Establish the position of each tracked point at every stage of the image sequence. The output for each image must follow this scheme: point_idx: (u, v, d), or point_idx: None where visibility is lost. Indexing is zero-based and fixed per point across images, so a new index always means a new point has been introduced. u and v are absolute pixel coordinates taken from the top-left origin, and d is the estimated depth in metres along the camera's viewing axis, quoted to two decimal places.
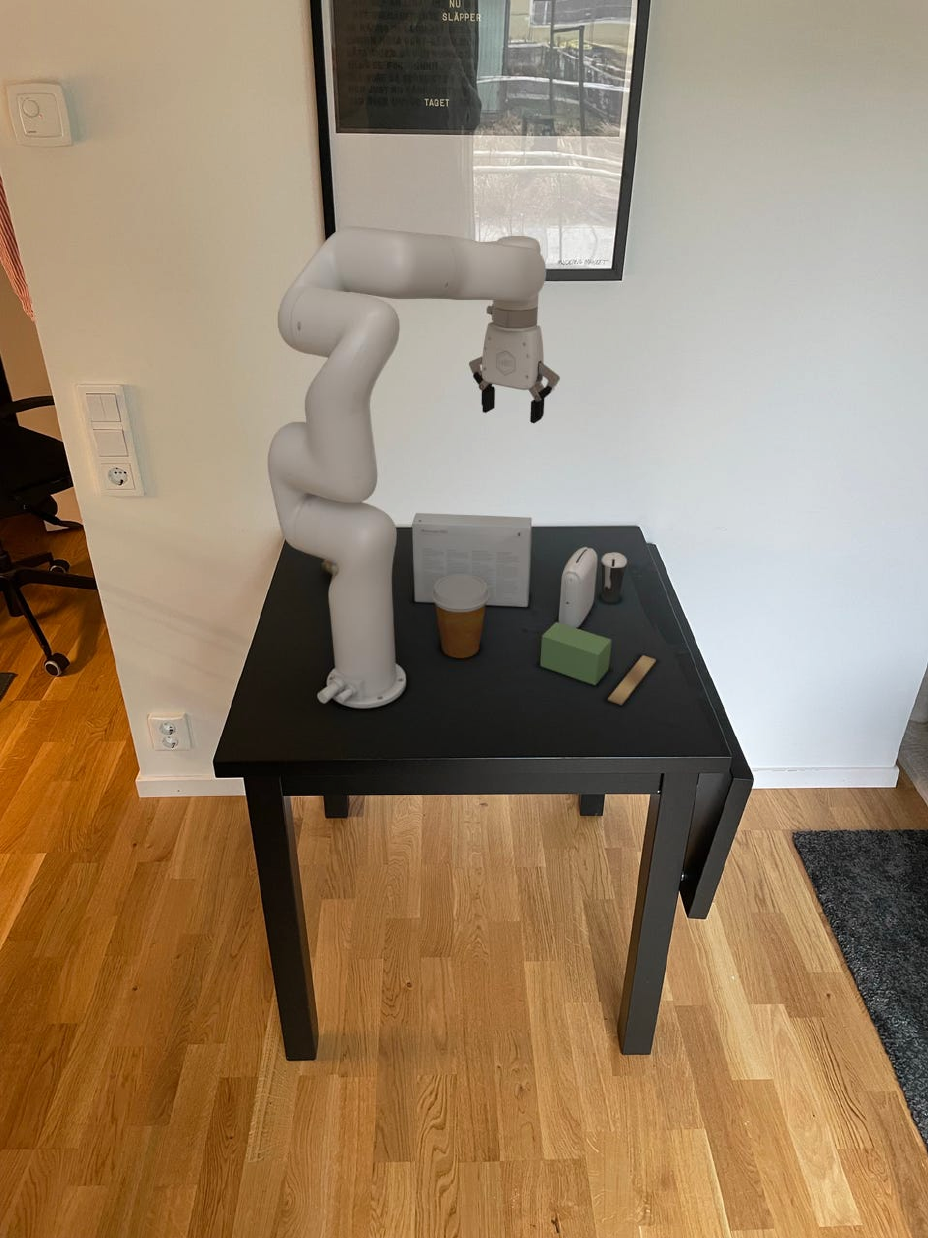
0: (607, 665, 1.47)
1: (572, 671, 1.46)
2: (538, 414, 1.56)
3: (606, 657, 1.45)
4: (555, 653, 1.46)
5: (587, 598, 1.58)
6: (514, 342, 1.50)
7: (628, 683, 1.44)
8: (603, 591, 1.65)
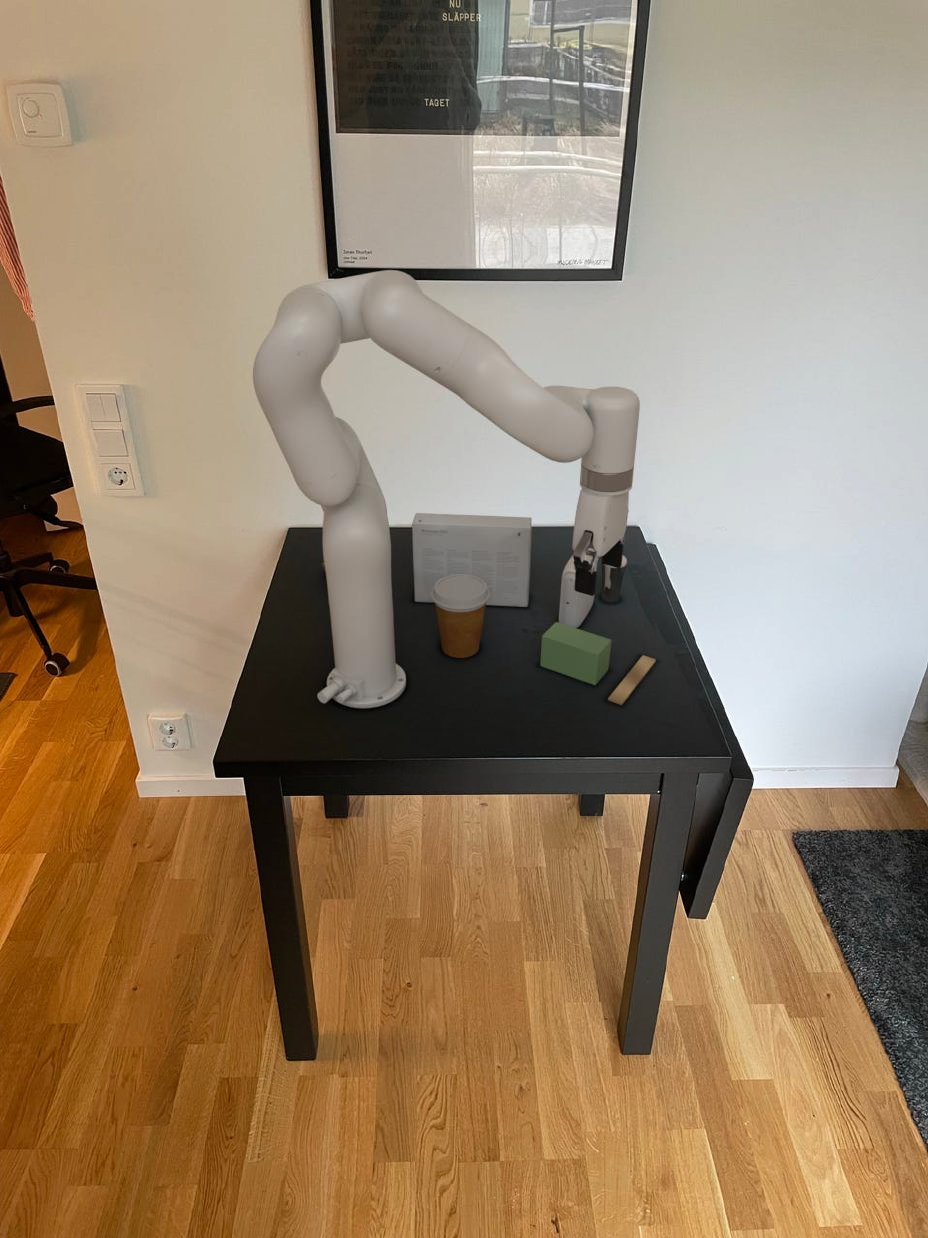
0: (607, 665, 1.47)
1: (572, 671, 1.46)
2: (578, 584, 1.34)
3: (606, 657, 1.45)
4: (555, 653, 1.46)
5: (587, 598, 1.58)
6: None
7: (628, 683, 1.44)
8: (603, 591, 1.65)
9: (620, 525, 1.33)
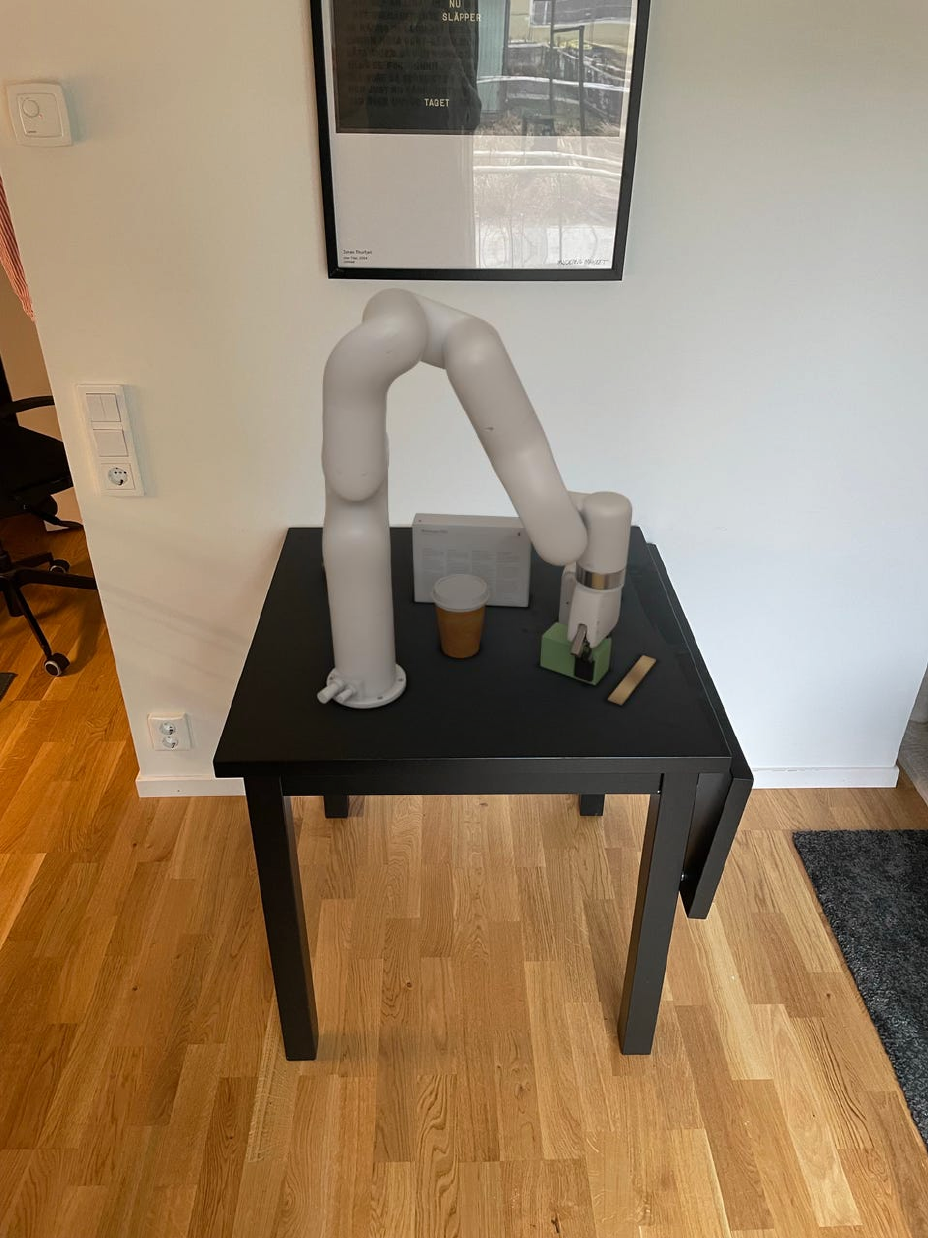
0: (607, 665, 1.47)
1: (572, 671, 1.46)
2: (577, 671, 1.44)
3: (606, 657, 1.45)
4: (555, 653, 1.46)
5: None
6: None
7: (628, 683, 1.44)
8: None
9: (613, 617, 1.41)
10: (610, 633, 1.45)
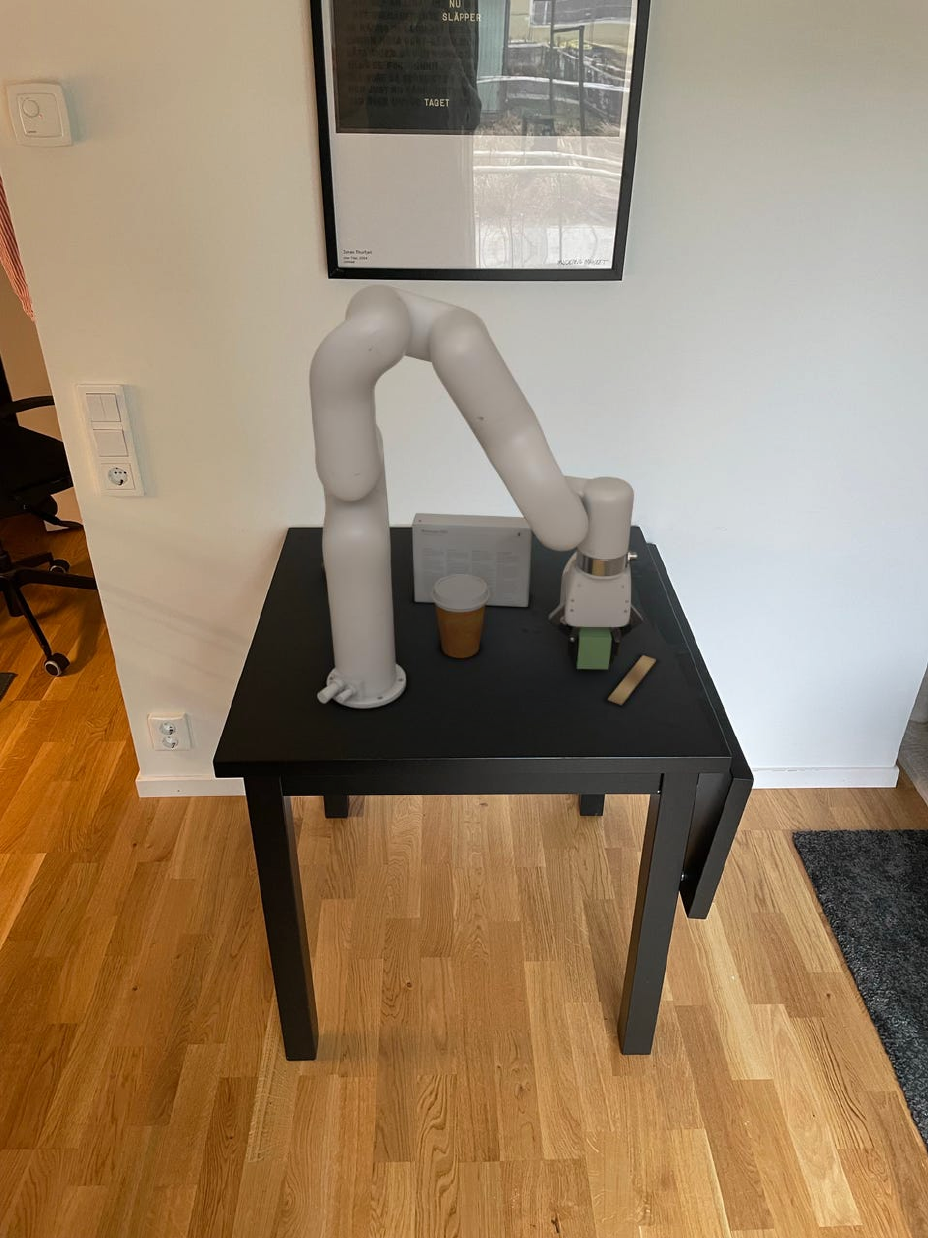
0: (605, 662, 1.43)
1: None
2: (569, 646, 1.45)
3: (601, 652, 1.42)
4: None
5: None
6: None
7: (628, 683, 1.44)
8: None
9: (605, 611, 1.38)
10: (617, 633, 1.41)
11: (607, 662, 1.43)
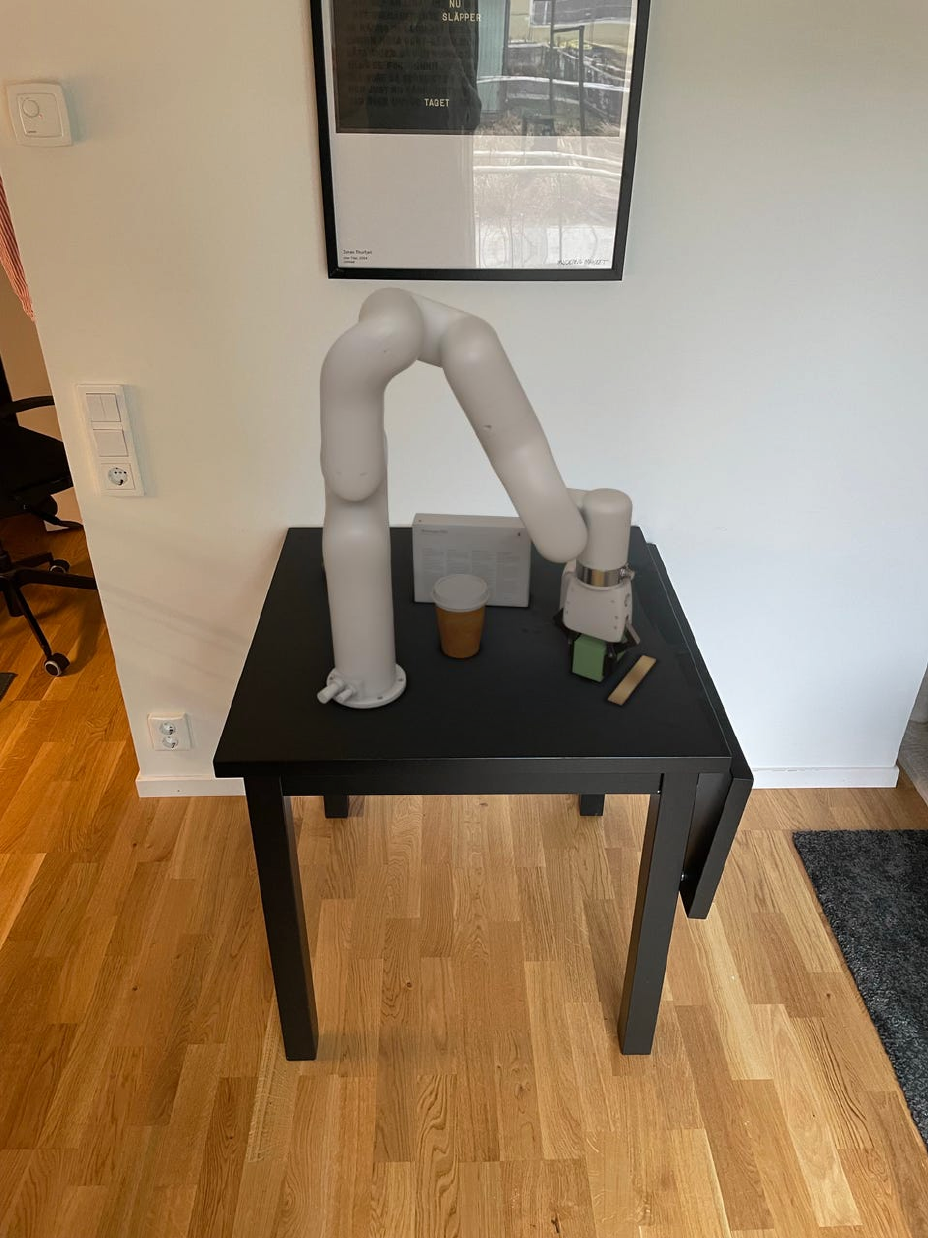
0: (597, 674, 1.44)
1: None
2: None
3: (593, 662, 1.43)
4: None
5: None
6: None
7: (628, 683, 1.44)
8: None
9: (596, 622, 1.39)
10: (610, 648, 1.41)
11: (599, 674, 1.44)
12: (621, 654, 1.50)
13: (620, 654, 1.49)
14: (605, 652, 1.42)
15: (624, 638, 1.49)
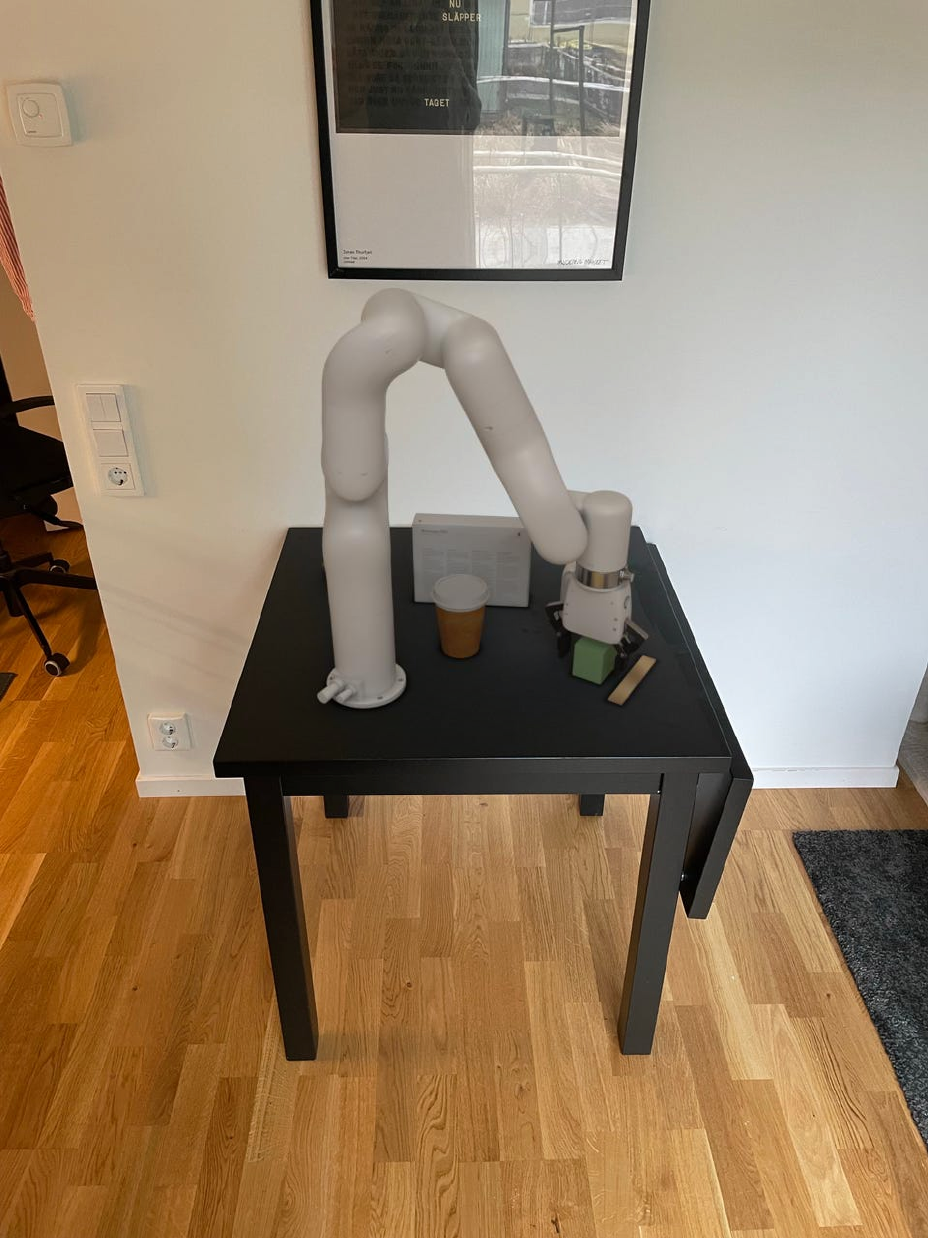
0: (597, 676, 1.44)
1: None
2: None
3: (593, 664, 1.43)
4: None
5: None
6: None
7: (628, 683, 1.44)
8: None
9: (596, 624, 1.39)
10: (621, 648, 1.40)
11: (599, 677, 1.44)
12: None
13: None
14: (605, 655, 1.42)
15: None
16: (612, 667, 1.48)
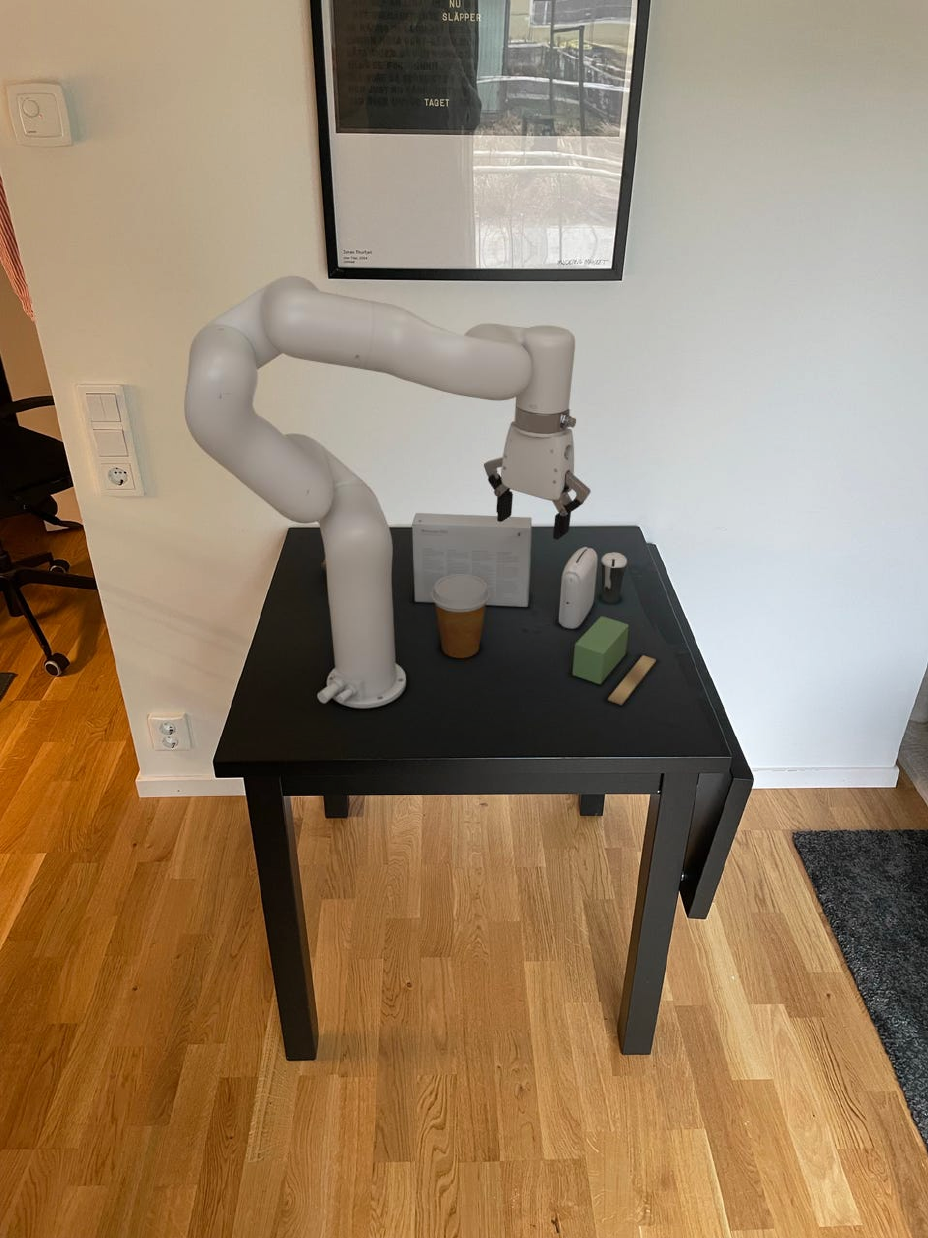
0: (597, 676, 1.44)
1: None
2: None
3: (593, 664, 1.43)
4: None
5: (587, 598, 1.58)
6: None
7: (628, 683, 1.44)
8: (603, 591, 1.65)
9: (535, 477, 1.29)
10: (562, 505, 1.30)
11: (599, 677, 1.44)
12: (621, 657, 1.50)
13: (620, 657, 1.50)
14: (605, 655, 1.42)
15: (624, 641, 1.49)
16: (612, 667, 1.48)
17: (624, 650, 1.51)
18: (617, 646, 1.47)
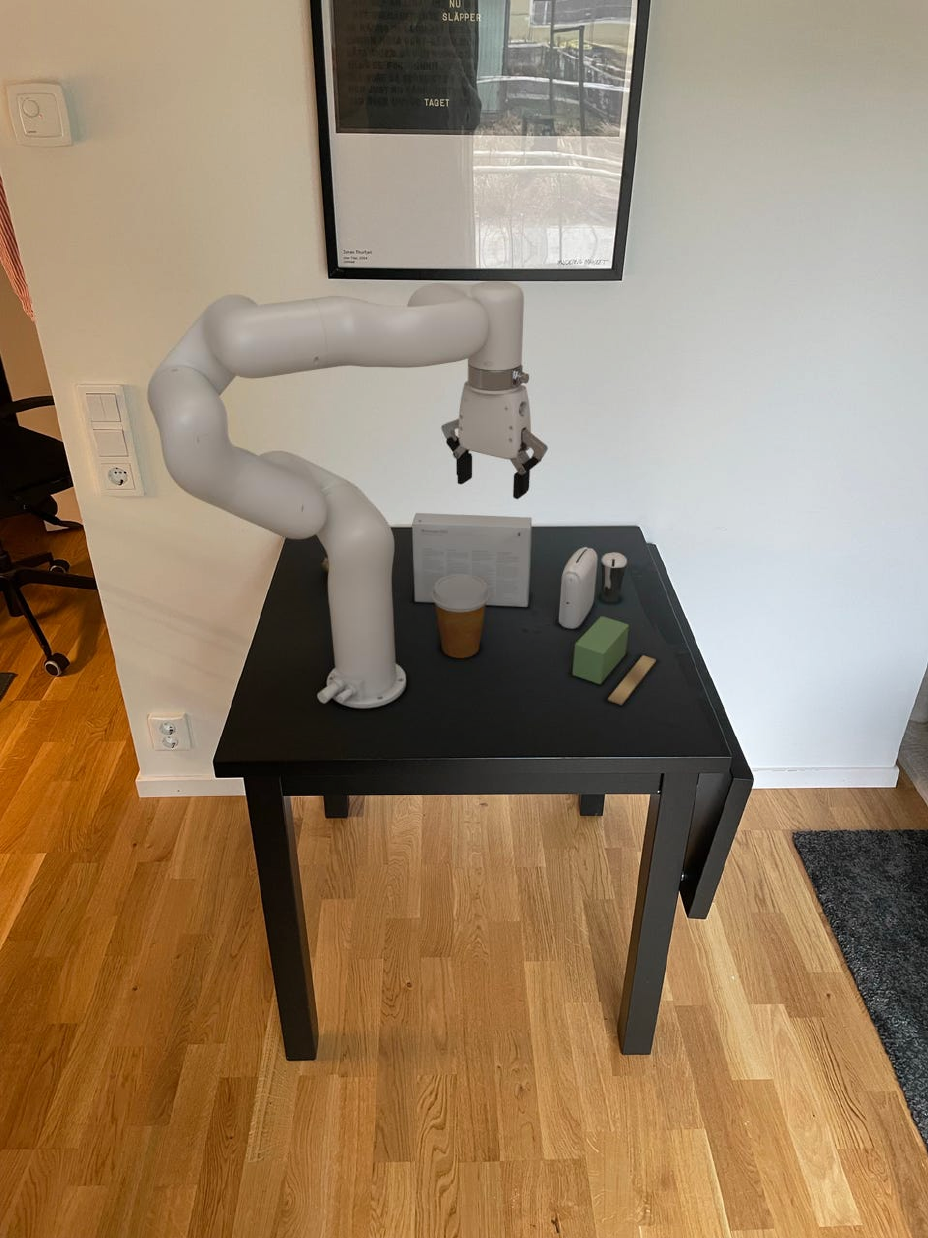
0: (597, 676, 1.44)
1: None
2: None
3: (593, 664, 1.43)
4: None
5: (587, 598, 1.58)
6: None
7: (628, 683, 1.44)
8: (603, 591, 1.65)
9: (491, 436, 1.28)
10: (520, 463, 1.29)
11: (599, 677, 1.44)
12: (621, 657, 1.50)
13: (620, 657, 1.50)
14: (605, 655, 1.42)
15: (624, 641, 1.49)
16: (612, 667, 1.48)
17: (624, 650, 1.51)
18: (617, 646, 1.47)
